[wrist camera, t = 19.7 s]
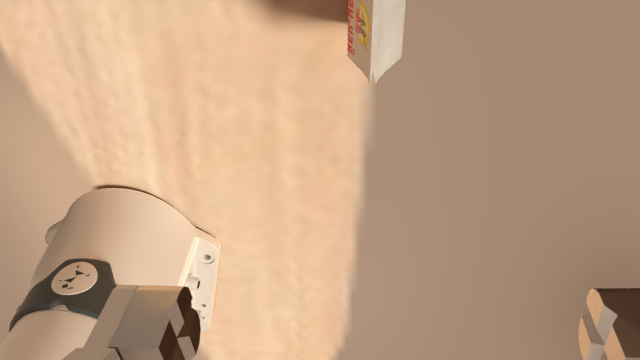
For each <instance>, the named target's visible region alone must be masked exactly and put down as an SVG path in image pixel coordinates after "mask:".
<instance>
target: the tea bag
mask: <svg viewBox="0 0 640 360" xmlns="http://www.w3.org/2000/svg"><path fill="white" fill-rule="evenodd" d="M404 12H405V0H348V57H349V58H350V59H351V60H352V61H353V62H354V63H355V64H356V65H357V66H358V67H359V68H360V69H361V70H362V72H363V73H364V74H365V76H366V77H367V78H368V81H369V83H370V82H371V78H372V74H373V72H374V78H375V83H376V82H377V80H378V78H379V77H380V76H381V75H382V74H383V73H384V72H385V71H386V70H387V69H388V68H389V67H390V66H392V65H393V64H394V63H395V62H396V61H397V60H399V58H401V52H402V39H403V25H404Z"/></svg>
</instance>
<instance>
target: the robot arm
mask: <svg viewBox="0 0 640 360" xmlns="http://www.w3.org/2000/svg"><path fill="white" fill-rule="evenodd" d="M45 240H46V242H47V244H48V247H47V249H46V251H45V252H44V254H43V256H42V258H41V260H40V262H39V264H38V266H37V267H36V269H35V271H34V273H33V275H32V277H31V279H30V281H29V283H28V287H27V290H28V291H29V293H28V295H27V297H26V298H25V299H23V300H22V302H21V304H20V305H19V307H18V308H17V310H16V314H15V316H14V318H13V319H12V321H11V324H10V328H9V335H8V337H7V338H6V340H5V341H4V343H3V344H2V346H1V347H0V360H191V359H192V358H193V357H194V356H195V355H196V353H197V350H198V346H199V342H200V333H203V332H206V331H208V329H209V327H210V325H211V322H212V316H213V308H214V300H215V293H216V285H217V277H218V269H219V261H220V253H221V244H220V242H219V241H218V240H217V239H216V238H214V237H213V236H211V235H209V234H207V233H205V232H203V231H201V230H199V229H197V228H196V227H195V226H193V225H192V224H191V223H190V222H189V221H188V220H187V219H186V218H185V217H184V216H183V215H182V214H181V213H180V212H179V211H177V210H176V209H175V208H173V207H172V206H170V205H169V204H167V203H166V202H164V201H162V200H160V199H158V198H156V197H154V196H151V195H149V194H146V193H143V192H140V191H136V190H131V189H124V188H104V189H99V190H94V191H91V192H89V193H86V194H84V195H83V196H81V197H80V198H78V199H77V200H76V201H75V202H74V203H73V204H72V206H71V207H70V209H69V211H68V213H67V215H66V217H65V218H64V219H63V220H62V221H60V222H58V223H56V224H54V225H53V226H51V227H50V228H49V230H48V232H47V234H46V236H45ZM586 302H587V305H588V308H589V310H590V311H588V312H587V313H585V314H584V315H583V316H582V317H581V320H580V325H579V345H580V349H581V354H582V357H583V360H640V288H593V289H592V290H591V291H590V292H589V294H588V297H587V300H586Z"/></svg>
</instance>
